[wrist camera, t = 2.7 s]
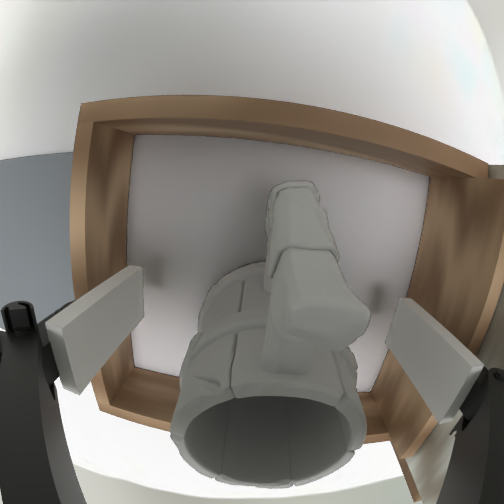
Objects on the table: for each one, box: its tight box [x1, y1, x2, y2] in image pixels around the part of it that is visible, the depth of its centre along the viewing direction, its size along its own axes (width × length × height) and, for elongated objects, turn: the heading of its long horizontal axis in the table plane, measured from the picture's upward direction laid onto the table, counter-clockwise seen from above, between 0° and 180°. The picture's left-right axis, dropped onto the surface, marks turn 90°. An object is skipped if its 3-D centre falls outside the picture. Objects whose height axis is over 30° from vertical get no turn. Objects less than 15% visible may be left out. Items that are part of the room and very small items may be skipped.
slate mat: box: [0, 152, 75, 330], centre depth 16 cm, size 16×14×1 cm
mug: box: [170, 181, 371, 489], centre depth 10 cm, size 8×12×12 cm, turn 174°
